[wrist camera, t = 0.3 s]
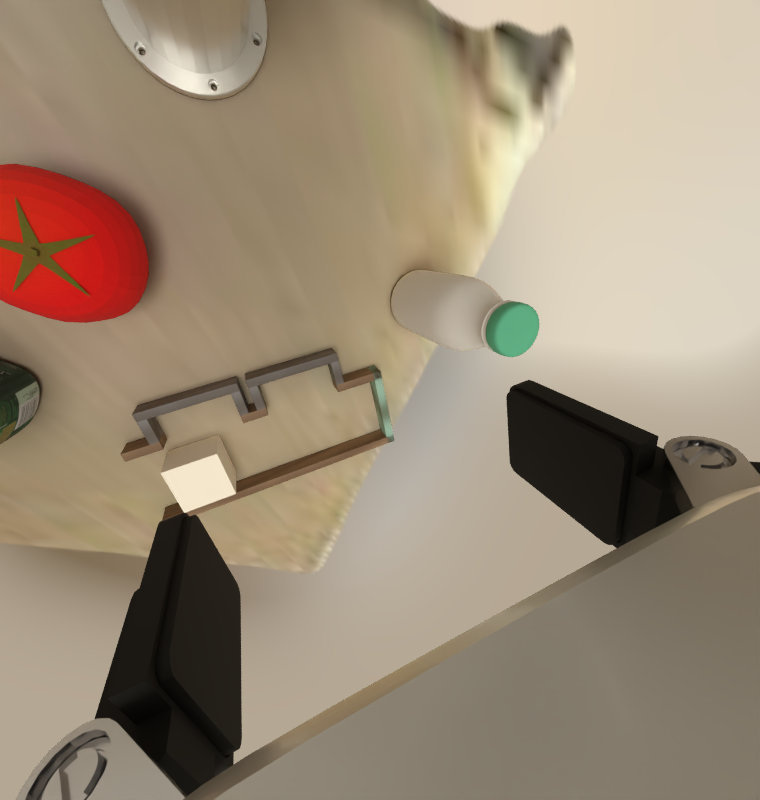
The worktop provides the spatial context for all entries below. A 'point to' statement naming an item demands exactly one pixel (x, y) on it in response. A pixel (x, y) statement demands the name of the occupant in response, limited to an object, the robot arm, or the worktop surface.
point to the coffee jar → (16, 399)
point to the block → (199, 473)
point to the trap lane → (282, 473)
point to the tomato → (67, 248)
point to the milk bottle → (463, 313)
